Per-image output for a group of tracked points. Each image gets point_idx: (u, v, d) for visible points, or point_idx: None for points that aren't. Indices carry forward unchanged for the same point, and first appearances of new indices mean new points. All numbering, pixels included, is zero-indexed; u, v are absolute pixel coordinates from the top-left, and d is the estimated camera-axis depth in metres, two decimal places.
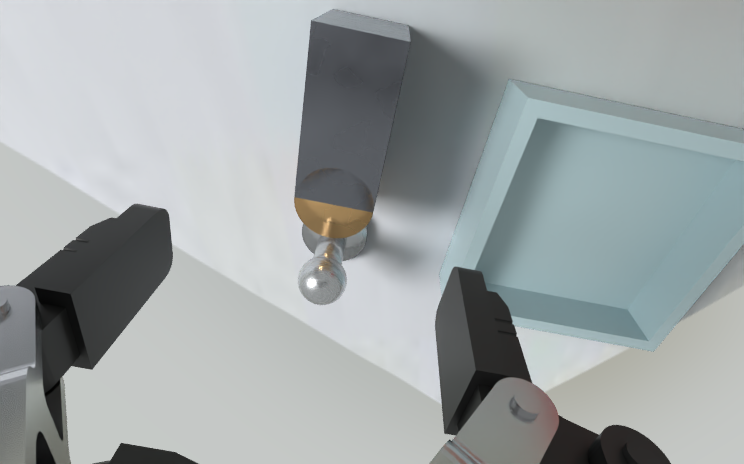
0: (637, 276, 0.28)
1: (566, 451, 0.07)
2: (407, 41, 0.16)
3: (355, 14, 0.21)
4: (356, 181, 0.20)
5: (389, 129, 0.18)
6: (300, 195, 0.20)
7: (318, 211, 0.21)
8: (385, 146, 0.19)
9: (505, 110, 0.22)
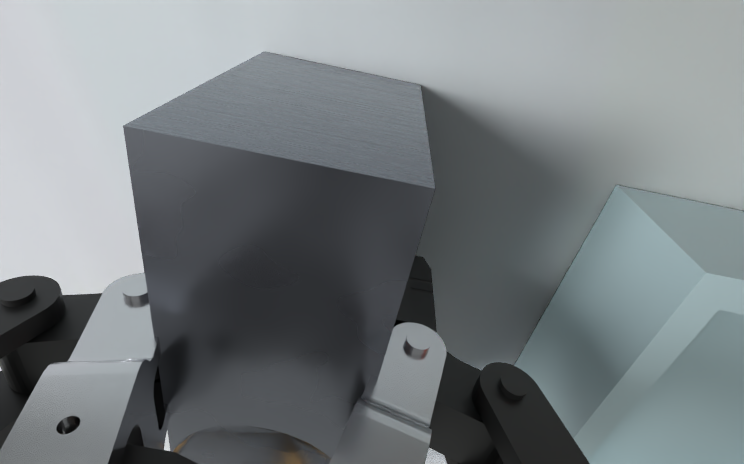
0: None
1: (453, 386, 0.08)
2: (425, 185, 0.05)
3: (309, 63, 0.10)
4: (302, 448, 0.09)
5: (375, 370, 0.07)
6: None
7: None
8: None
9: (613, 252, 0.11)
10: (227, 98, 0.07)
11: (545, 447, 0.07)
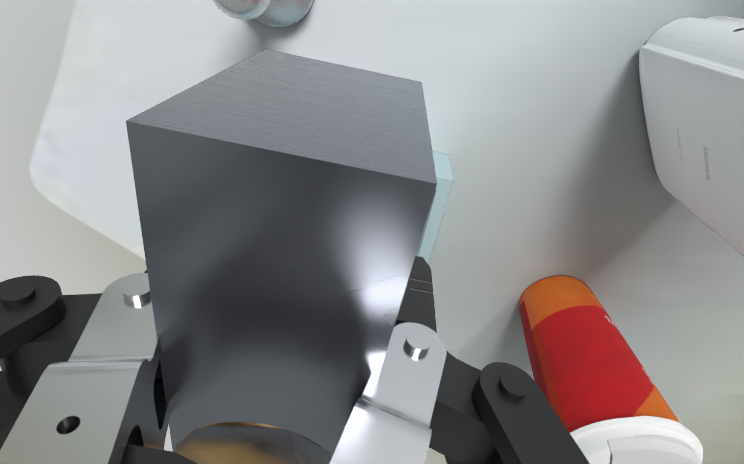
0: None
1: (453, 386, 0.08)
2: (427, 180, 0.05)
3: (310, 61, 0.10)
4: (304, 445, 0.09)
5: (377, 366, 0.07)
6: (186, 457, 0.09)
7: None
8: None
9: None
10: (229, 94, 0.07)
11: (545, 447, 0.07)
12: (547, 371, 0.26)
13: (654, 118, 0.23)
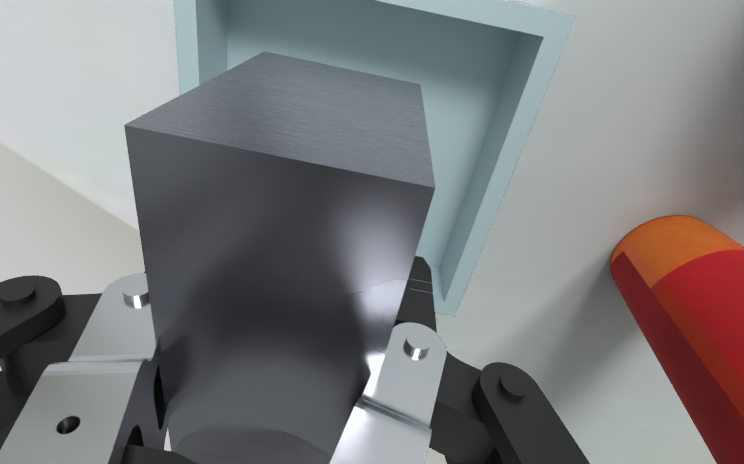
0: None
1: (453, 386, 0.08)
2: (425, 184, 0.05)
3: (309, 63, 0.10)
4: (303, 447, 0.09)
5: (375, 369, 0.07)
6: None
7: None
8: None
9: None
10: (227, 97, 0.07)
11: (545, 447, 0.07)
12: (705, 344, 0.16)
13: None
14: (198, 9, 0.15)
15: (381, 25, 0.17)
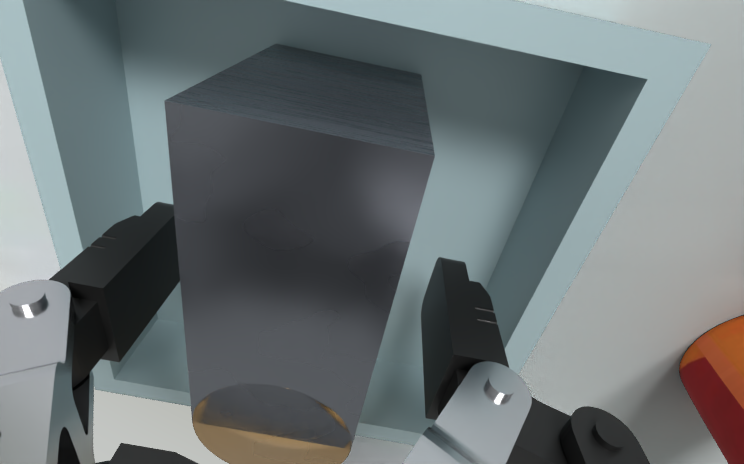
0: None
1: (539, 432, 0.08)
2: (426, 153, 0.06)
3: (318, 54, 0.11)
4: (313, 406, 0.09)
5: (381, 327, 0.08)
6: (203, 420, 0.10)
7: (242, 443, 0.10)
8: (372, 355, 0.08)
9: None
10: (248, 81, 0.07)
11: None
12: None
13: None
14: (38, 26, 0.09)
15: (362, 49, 0.11)
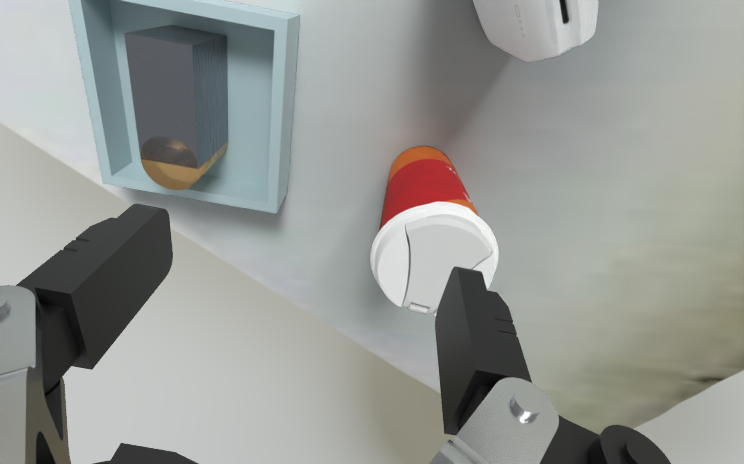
0: None
1: (566, 451, 0.07)
2: (190, 45, 0.24)
3: (186, 28, 0.29)
4: (181, 146, 0.28)
5: (193, 106, 0.26)
6: (144, 157, 0.28)
7: (159, 169, 0.29)
8: (194, 119, 0.27)
9: (276, 12, 0.28)
10: (150, 31, 0.26)
11: None
12: (385, 204, 0.28)
13: None
14: (86, 18, 0.27)
15: (203, 26, 0.29)
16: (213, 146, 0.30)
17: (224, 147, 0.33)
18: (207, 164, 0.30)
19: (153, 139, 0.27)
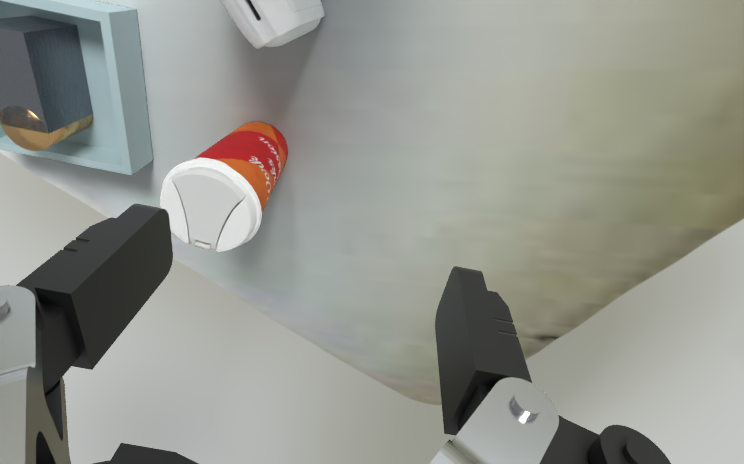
0: None
1: (566, 451, 0.07)
2: (22, 32, 0.31)
3: (42, 18, 0.36)
4: (30, 114, 0.34)
5: (34, 81, 0.33)
6: (3, 123, 0.35)
7: (17, 133, 0.35)
8: (36, 92, 0.33)
9: (111, 7, 0.35)
10: None
11: None
12: None
13: None
14: None
15: (57, 17, 0.36)
16: (68, 116, 0.37)
17: (87, 119, 0.40)
18: (62, 131, 0.37)
19: (8, 108, 0.34)
